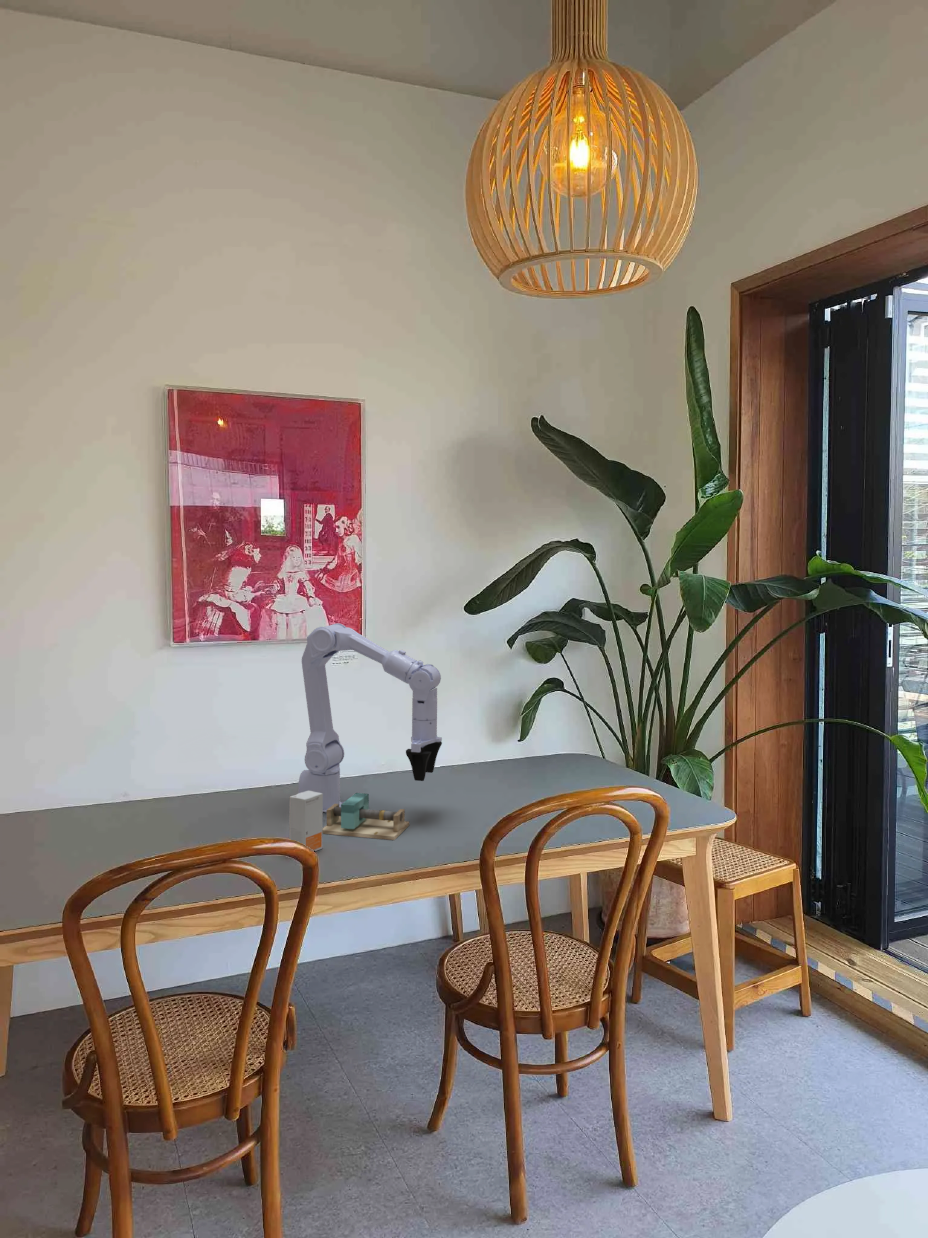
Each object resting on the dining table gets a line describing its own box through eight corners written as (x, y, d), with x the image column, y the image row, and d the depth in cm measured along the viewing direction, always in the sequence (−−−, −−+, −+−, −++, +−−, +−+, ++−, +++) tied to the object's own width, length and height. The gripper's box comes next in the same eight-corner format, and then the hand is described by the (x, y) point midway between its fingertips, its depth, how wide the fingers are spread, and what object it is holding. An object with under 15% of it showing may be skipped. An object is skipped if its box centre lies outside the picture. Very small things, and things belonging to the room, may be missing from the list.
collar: (341, 828, 214) (341, 804, 213) (356, 815, 223) (356, 792, 223) (353, 829, 213) (353, 805, 213) (368, 816, 222) (368, 793, 222)
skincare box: (304, 857, 199) (304, 799, 198) (288, 853, 201) (288, 796, 200) (323, 848, 204) (323, 793, 203) (308, 845, 206) (307, 789, 205)
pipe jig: (320, 833, 214) (320, 813, 214) (338, 819, 225) (338, 799, 224) (394, 840, 210) (394, 819, 210) (409, 825, 221) (409, 805, 220)
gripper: (432, 725, 216) (432, 785, 217) (449, 713, 230) (448, 769, 231) (402, 723, 218) (401, 783, 219) (420, 711, 232) (419, 767, 233)
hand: (423, 776), depth 225 cm, fingers open, 7 cm apart
